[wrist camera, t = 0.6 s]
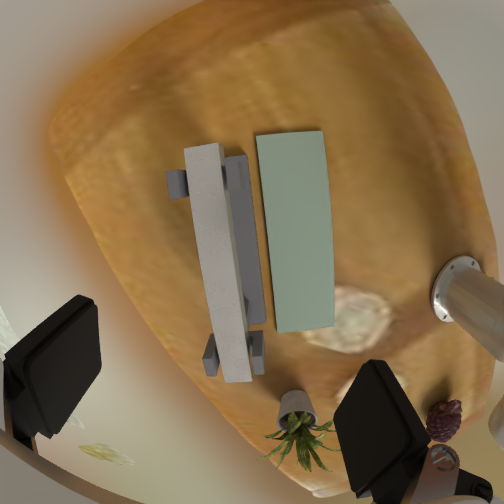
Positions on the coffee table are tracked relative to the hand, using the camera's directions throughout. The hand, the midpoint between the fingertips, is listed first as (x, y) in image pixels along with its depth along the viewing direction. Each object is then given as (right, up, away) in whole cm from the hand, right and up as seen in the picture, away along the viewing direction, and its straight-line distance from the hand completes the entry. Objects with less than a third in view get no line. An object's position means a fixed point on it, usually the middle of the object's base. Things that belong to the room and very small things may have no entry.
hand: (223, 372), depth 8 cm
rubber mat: (+8, +6, +29) cm, 31 cm away
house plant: (+10, -24, +37) cm, 46 cm away
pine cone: (+47, -36, +39) cm, 71 cm away
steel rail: (-2, +2, +19) cm, 19 cm away
